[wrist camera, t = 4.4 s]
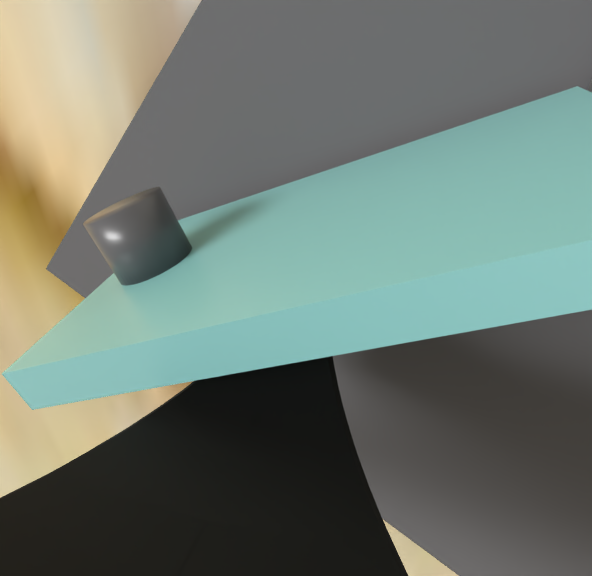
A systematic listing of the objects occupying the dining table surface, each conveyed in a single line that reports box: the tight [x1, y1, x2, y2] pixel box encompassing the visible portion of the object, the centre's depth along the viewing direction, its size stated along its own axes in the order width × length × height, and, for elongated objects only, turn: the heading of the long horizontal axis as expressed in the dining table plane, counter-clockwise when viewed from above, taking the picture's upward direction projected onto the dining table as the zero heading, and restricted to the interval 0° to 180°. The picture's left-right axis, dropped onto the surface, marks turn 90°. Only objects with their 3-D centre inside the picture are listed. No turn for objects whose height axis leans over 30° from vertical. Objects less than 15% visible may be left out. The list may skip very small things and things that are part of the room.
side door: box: [2, 80, 592, 410], centre depth 6 cm, size 2×8×5 cm, turn 111°
